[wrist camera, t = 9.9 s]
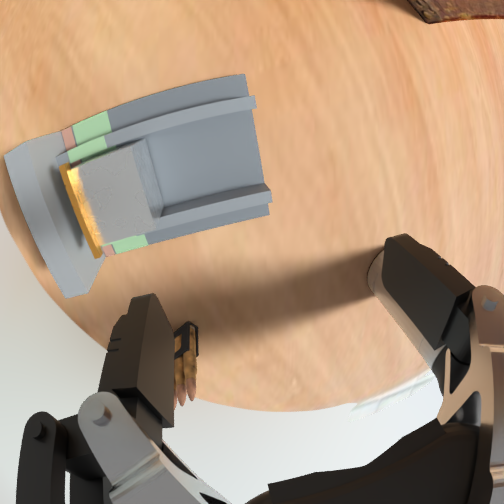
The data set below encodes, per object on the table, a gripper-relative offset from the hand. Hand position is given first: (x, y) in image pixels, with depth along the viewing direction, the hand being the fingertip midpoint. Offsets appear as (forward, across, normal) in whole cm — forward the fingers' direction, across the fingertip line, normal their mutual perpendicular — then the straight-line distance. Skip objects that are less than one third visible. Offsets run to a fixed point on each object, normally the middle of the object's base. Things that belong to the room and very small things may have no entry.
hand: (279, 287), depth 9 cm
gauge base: (+21, +8, -1) cm, 22 cm away
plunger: (+19, +10, -1) cm, 22 cm away
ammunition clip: (+21, +14, +23) cm, 34 cm away
